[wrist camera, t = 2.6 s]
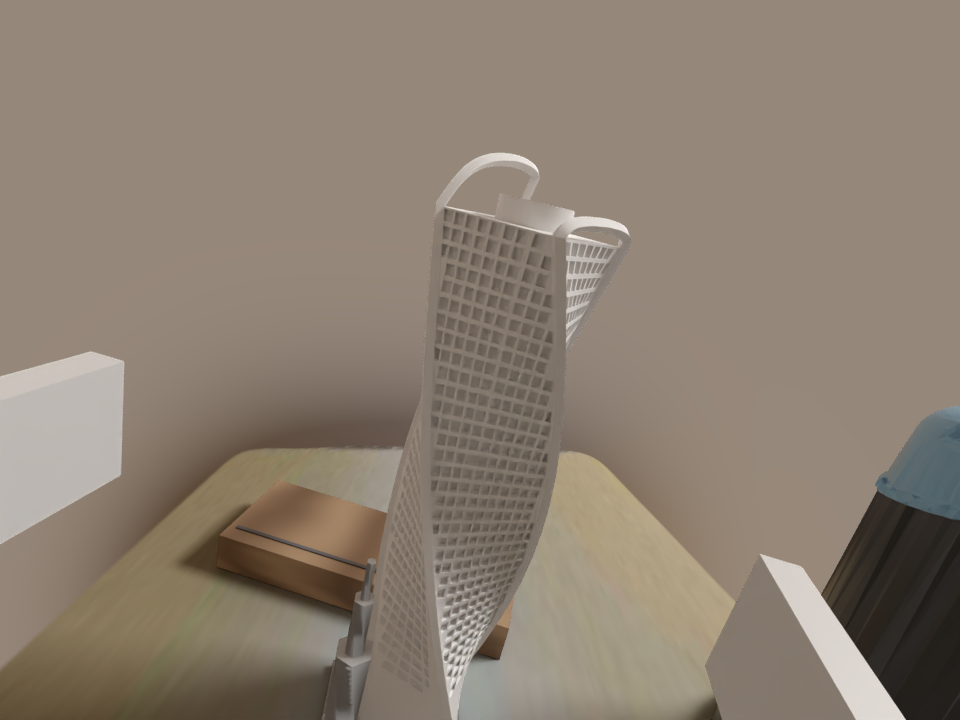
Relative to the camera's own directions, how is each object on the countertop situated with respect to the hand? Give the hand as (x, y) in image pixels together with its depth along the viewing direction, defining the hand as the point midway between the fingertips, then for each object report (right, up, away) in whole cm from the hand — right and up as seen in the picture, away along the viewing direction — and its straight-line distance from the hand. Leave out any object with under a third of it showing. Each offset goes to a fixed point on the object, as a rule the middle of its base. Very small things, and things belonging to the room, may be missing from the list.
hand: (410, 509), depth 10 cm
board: (-6, -12, +25) cm, 28 cm away
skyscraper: (-3, -16, +16) cm, 23 cm away
